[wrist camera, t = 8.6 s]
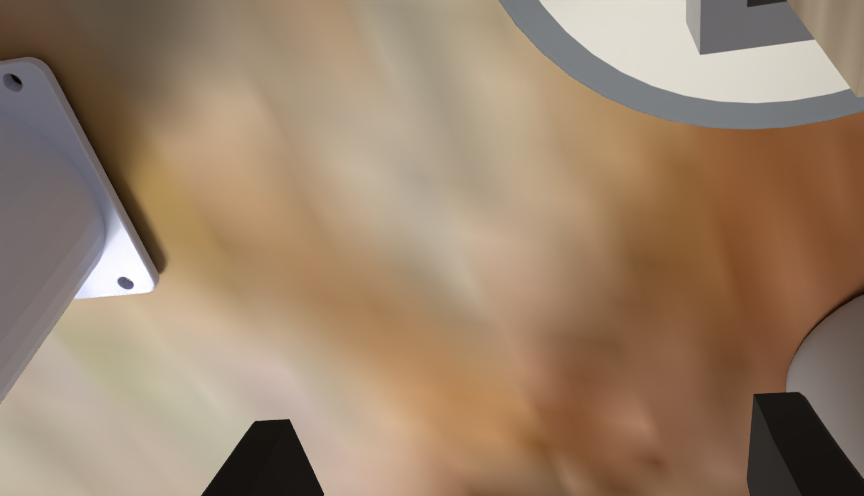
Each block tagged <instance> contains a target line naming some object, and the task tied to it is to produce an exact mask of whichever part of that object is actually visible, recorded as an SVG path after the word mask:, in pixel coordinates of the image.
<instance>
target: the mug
mask: <svg viewBox="0 0 864 496" xmlns="http://www.w3.org/2000/svg"><path fill="white" fill-rule="evenodd" d="M786 392H800V393H801V394H802V395H804V396H805V397H806V398H807V400H808V401H809V403H810V404H811V406H812V407H813V409H814V410H815V412H816V413H817V415H818V416H819V418H820V419H821V421H822V422H823V424H824V425H825V427H826V428H827V430H828V431H829V432H830V434H831V435H832V437H833V438H834V439H835V441H836V442H837V444H838V445H839V446H840V448H841V449H842V451H843V452H844V453H845V455H846V456H847V457H848V459H849V460H850V461H851V463H852V464H853V465H854V467H855V468H856V469H857V471H858V472H859V473H860V475H861V476H862V477H863V478H864V294H863V295H861V296H858V297H856V298H855V299H853V300H851V301H850V302H848V303H846V304H845V305H843V306H841V307H840V308H838V309H837V310H836V311H834V312H833V313H832V314H830V315H829V316H828V317H826V318H825V319H824V320H823V321H822V322H821V323H820V324H819V325H818V326H816V327H815V328H814V329H813V330H812V332H811V333H810V334H809V335H808V336H807V338H806V339H805V340H804V341H803V343H802V344H801V346H800V347H799V349H798V351H797V352H796V354H795V355H794V358H793V360H792V362H791V365H790V367H789V371H788V375H787V385H786Z"/></svg>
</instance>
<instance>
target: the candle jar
mask: <svg viewBox="0 0 864 496" xmlns="http://www.w3.org/2000/svg"><path fill="white" fill-rule="evenodd" d="M499 2H500V3H501V4H502V6H503V7H504V9H505V10H506V12H507V13H508V14H509V16H510V17H511V19H512V20H513V21H514V23H515V24H516V25H517V27H518V28H519V29H520V30H521V31H522V32H523V33H524V34H525V35H526V36H527V37H528V38H529V39H530V41H531V42H532V43H533V44H534V45H535V46H536V47H537V48H538V49H539V50H540V51H541V52H542V53H543V54H544V55H545V56H546V57H548V58H549V59H550V60H551V61H553V62H554V63H555V64H556V65H557V66H559V67H560V68H561V69H562V70H564V71H565V72H566V73H567V74H568V75H570V76H571V77H572V78H574V79H576V80H577V81H579V82H581V83H582V84H584V85H586V86H587V87H589V88H590V89H592V90H594V91H595V92H597V93H599V94H600V95H602V96H604V97H606V98H608V99H611V100H613V101H615V102H617V103H620V104H622V105H624V106H626V107H629V108H631V109H633V110H635V111H639V112H642V113H645V114H649V115H652V116H655V117H659V118H662V119H665V120H669V121H673V122H679V123H685V124H691V125H697V126H703V127H708V128H728V129H764V128H780V127H791V126H797V125H803V124H809V123H815V122H821V121H827V120H832V119H835V118H839V117H843V116H846V115H850V114H854V113H857V112H861V111H864V97H857V96H856V95H855V94H854V92H853V91H852V90H851V88H850V87H849V85H848V84H847V83H846V81H845V80H844V79H843V77H842V76H841V74H840V73H839V72H838V70H837V69H836V68H835V66H834V65H833V64H832V62H831V61H830V59H829V58H828V57H827V55H826V54H825V53H824V51H823V50H822V48H821V47H820V46H819V44H818V43H817V42H816V40H815V39H814V37H813V36H812V35H811V33H810V32H809V31H808V29H807V28H806V26H805V25H804V24H803V22H802V21H801V20H800V18H799V17H798V15H797V14H796V13H795V11H794V10H793V9H792V7H791V6H790V4H789V3H788V2H787V0H499Z"/></svg>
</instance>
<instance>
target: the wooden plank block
mask: <svg viewBox="0 0 864 496" xmlns="http://www.w3.org/2000/svg"><path fill="white" fill-rule="evenodd" d="M787 2H788V3H789V4H790V6H791V7H792V9H793V10H794V11H795V13H796V14H797V15H798V17H799V18H800V20H801V21H802V22H803V24H804V25H805V26H806V28H807V29H808V31H809V32H810V33H811V35H812V36H813V37H814V39H815V40H816V42H817V43H818V44H819V46H820V47H821V48H822V50H823V51H824V53H825V54H826V55H827V57H828V58H829V59H830V61H831V62H832V64H833V65H834V66H835V68H836V69H837V70H838V72H839V73H840V74H841V76H842V77H843V79H844V80H845V81H846V83H847V84H848V85H849V87H850V88H851V90H852V91H853V92H854V94H855V95H856V96H857V97H864V0H787Z"/></svg>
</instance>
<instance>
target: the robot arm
mask: <svg viewBox="0 0 864 496" xmlns="http://www.w3.org/2000/svg"><path fill="white" fill-rule="evenodd" d="M11 74H13V75H15V76H17V77H18V78H19V79H20V80H21V82H22V85H20V84H18V83H16V82H15V81H14V80H13V79H12V77H11ZM125 277H127V278H129V279H130V280H131V281H129V280H127V279H125ZM159 279H160V278H159V274H158V272H157V270H156V268H155V266H154V264H153V262H152V261H151V259H150V257H149V255H148V253H147V251H146V249H145V247H144V245H143V243H142V242H141V240H140V238H139V236H138V234H137V232H136V230H135V228H134V226H133V224H132V223H131V221H130V219H129V217H128V215H127V213H126V211H125V209H124V207H123V205H122V203H121V202H120V200H119V198H118V196H117V194H116V192H115V190H114V188H113V186H112V184H111V183H110V181H109V179H108V177H107V175H106V173H105V171H104V169H103V167H102V165H101V164H100V162H99V160H98V158H97V156H96V154H95V152H94V150H93V148H92V146H91V145H90V143H89V141H88V139H87V137H86V135H85V133H84V131H83V129H82V127H81V125H80V124H79V122H78V120H77V118H76V116H75V114H74V112H73V110H72V108H71V106H70V105H69V103H68V101H67V99H66V97H65V95H64V93H63V91H62V89H61V87H60V86H59V84H58V82H57V80H56V78H55V76H54V74H53V72H52V71H51V69H50V68H49V67H48V65H46V64H45V63H44V62H43V61H41V60H39V59H37V58H34V57H23V58H16V59H10V60H4V61H0V404H1V402H2V401H3V399H4V398H5V397H6V395H7V394H8V392H9V391H10V389H11V388H12V386H13V385H14V384H15V382H16V381H17V379H18V378H19V376H20V375H21V373H22V372H23V371H24V369H25V368H26V366H27V365H28V363H29V362H30V360H31V359H32V358H33V356H34V355H35V353H36V352H37V350H38V349H39V348H40V346H41V345H42V343H43V342H44V340H45V339H46V337H47V336H48V335H49V333H50V332H51V330H52V329H53V327H54V326H55V324H56V323H57V322H58V320H59V319H60V317H61V316H62V314H63V313H64V311H65V310H66V309H67V307H68V306H69V304H70V303H71V301H72V300H73V299H83V298H95V297H106V296H117V295H128V294H139V293H148V292H151V291H153V290H154V289H155V288H156V286H157V284H158V282H159ZM747 483H748V488H749V493H750V496H864V478H863V477H862V476H861V475H860V473H859V472H858V471H857V469H856V468H855V467H854V465H853V464H852V463H851V461H850V460H849V459H848V457H847V456H846V455H845V453H844V452H843V451H842V449H841V448H840V446H839V445H838V444H837V442H836V441H835V439H834V438H833V437H832V435H831V434H830V432H829V431H828V430H827V428H826V427H825V425H824V424H823V422H822V421H821V419H820V418H819V416H818V415H817V413H816V412H815V410H814V409H813V407H812V406H811V404H810V403H809V401H808V400H807V398H806V397H805V396H804V395H802V394H801V393H800V392H784V393H765V394H754V397H753V409H752V422H751V434H750V446H749V459H748V471H747ZM201 496H324V493H323V491H322V488H321V486H320V484H319V482H318V480H317V478H316V475H315V473H314V471H313V469H312V467H311V465H310V462H309V460H308V458H307V456H306V454H305V452H304V450H303V447H302V445H301V443H300V441H299V439H298V437H297V434H296V432H295V430H294V428H293V426H292V424H291V421H290V419H284V420H266V421H255V422H254V423H253V424H252V425H251V427H250V428H249V429H248V431H247V432H246V433H245V435H244V436H243V438H242V439H241V440H240V442H239V443H238V445H237V446H236V447H235V449H234V450H233V452H232V453H231V455H230V456H229V457H228V459H227V460H226V462H225V463H224V464H223V466H222V467H221V469H220V470H219V471H218V473H217V474H216V476H215V477H214V478H213V480H212V481H211V483H210V484H209V485H208V487H207V488H206V490H205V491H204V492H203V494H202V495H201Z"/></svg>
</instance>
